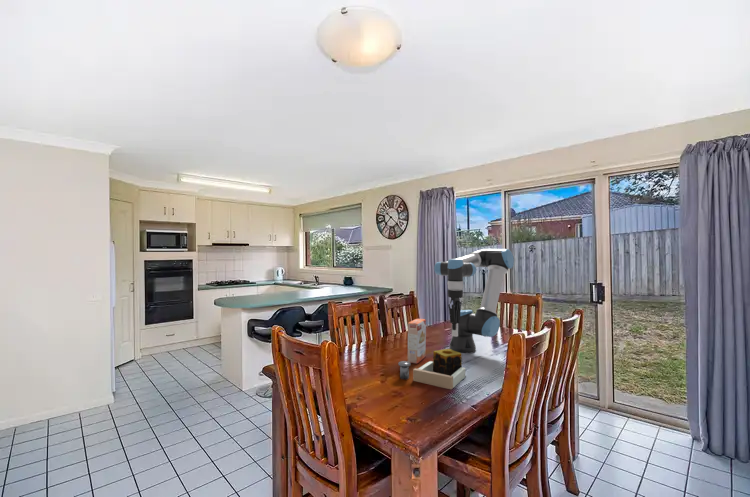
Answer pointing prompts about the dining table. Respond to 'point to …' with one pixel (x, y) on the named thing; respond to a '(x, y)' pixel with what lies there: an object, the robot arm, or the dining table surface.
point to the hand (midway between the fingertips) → (454, 336)
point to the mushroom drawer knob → (404, 369)
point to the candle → (446, 361)
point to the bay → (437, 376)
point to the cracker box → (416, 340)
